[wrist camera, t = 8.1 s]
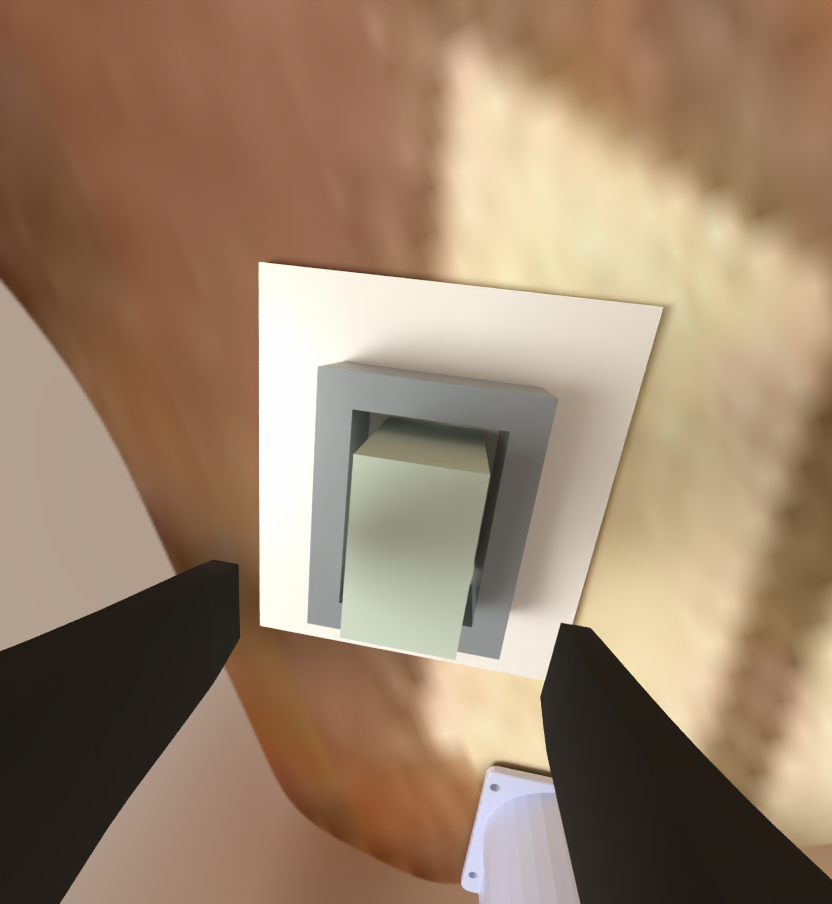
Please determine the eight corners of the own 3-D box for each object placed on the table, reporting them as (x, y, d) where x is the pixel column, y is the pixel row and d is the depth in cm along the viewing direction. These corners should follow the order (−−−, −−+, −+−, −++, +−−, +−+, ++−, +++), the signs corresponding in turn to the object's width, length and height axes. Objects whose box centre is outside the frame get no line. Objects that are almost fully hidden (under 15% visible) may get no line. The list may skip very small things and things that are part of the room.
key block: (482, 430, 15) (490, 475, 10) (458, 566, 16) (455, 660, 12) (389, 416, 15) (353, 453, 10) (375, 552, 17) (339, 638, 12)
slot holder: (553, 675, 18) (570, 739, 15) (264, 619, 19) (228, 669, 16) (658, 307, 13) (710, 299, 10) (264, 264, 14) (214, 246, 12)
